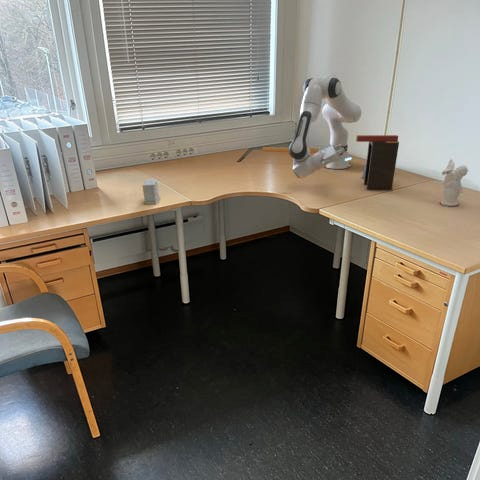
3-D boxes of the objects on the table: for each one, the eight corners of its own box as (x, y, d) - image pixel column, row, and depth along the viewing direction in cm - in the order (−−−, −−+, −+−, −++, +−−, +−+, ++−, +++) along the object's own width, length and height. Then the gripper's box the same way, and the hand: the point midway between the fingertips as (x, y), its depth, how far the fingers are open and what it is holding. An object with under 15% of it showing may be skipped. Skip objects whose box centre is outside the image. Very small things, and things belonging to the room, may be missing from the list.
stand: (363, 183, 285) (369, 137, 271) (387, 184, 284) (394, 137, 270) (366, 189, 274) (373, 142, 261) (391, 190, 274) (399, 142, 260)
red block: (356, 140, 265) (356, 135, 263) (396, 140, 263) (397, 135, 262) (356, 141, 262) (357, 136, 261) (397, 141, 261) (398, 136, 260)
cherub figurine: (463, 206, 248) (473, 162, 237) (442, 208, 245) (451, 165, 234) (448, 199, 258) (457, 157, 247) (428, 201, 255) (436, 159, 244)
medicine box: (376, 179, 293) (378, 164, 288) (373, 180, 290) (375, 166, 285) (365, 176, 297) (367, 162, 293) (361, 178, 295) (363, 164, 290)
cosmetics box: (148, 198, 267) (145, 179, 262) (159, 198, 267) (157, 179, 262) (144, 204, 258) (141, 184, 253) (156, 204, 258) (154, 184, 253)
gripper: (319, 159, 260) (343, 146, 256) (316, 150, 277) (338, 138, 273) (324, 169, 263) (347, 156, 258) (321, 160, 280) (343, 148, 276)
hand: (343, 147), depth 266 cm, fingers open, 8 cm apart
